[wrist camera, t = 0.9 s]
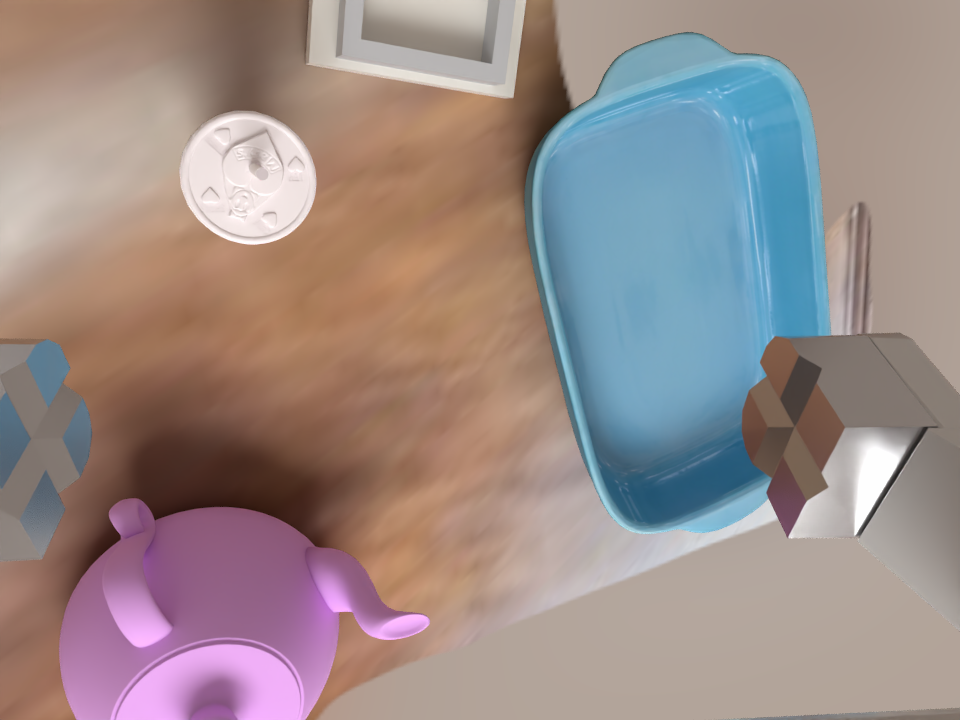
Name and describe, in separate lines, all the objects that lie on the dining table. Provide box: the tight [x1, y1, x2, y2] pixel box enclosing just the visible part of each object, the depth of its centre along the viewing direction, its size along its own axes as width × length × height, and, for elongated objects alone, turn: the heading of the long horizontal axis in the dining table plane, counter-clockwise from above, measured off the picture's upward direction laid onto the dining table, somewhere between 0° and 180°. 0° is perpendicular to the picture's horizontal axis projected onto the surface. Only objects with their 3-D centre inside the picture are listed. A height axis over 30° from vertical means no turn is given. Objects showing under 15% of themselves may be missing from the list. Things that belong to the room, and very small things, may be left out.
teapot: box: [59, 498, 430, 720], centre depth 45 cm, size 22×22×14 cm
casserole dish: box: [524, 32, 831, 534], centre depth 54 cm, size 37×22×7 cm, turn 16°
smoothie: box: [179, 110, 316, 244], centre depth 37 cm, size 6×6×14 cm
